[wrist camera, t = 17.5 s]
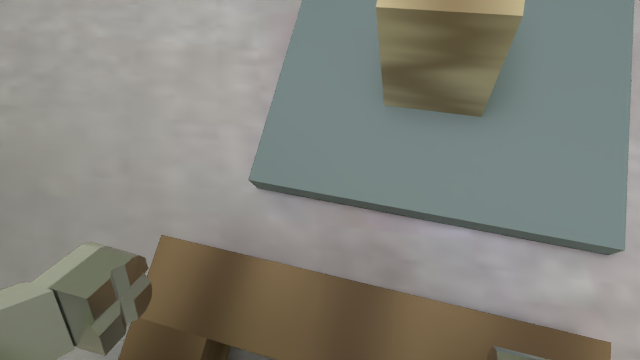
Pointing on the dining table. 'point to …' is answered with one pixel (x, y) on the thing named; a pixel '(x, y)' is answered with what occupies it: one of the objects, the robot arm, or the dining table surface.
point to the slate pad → (463, 128)
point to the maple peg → (444, 51)
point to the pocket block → (315, 316)
